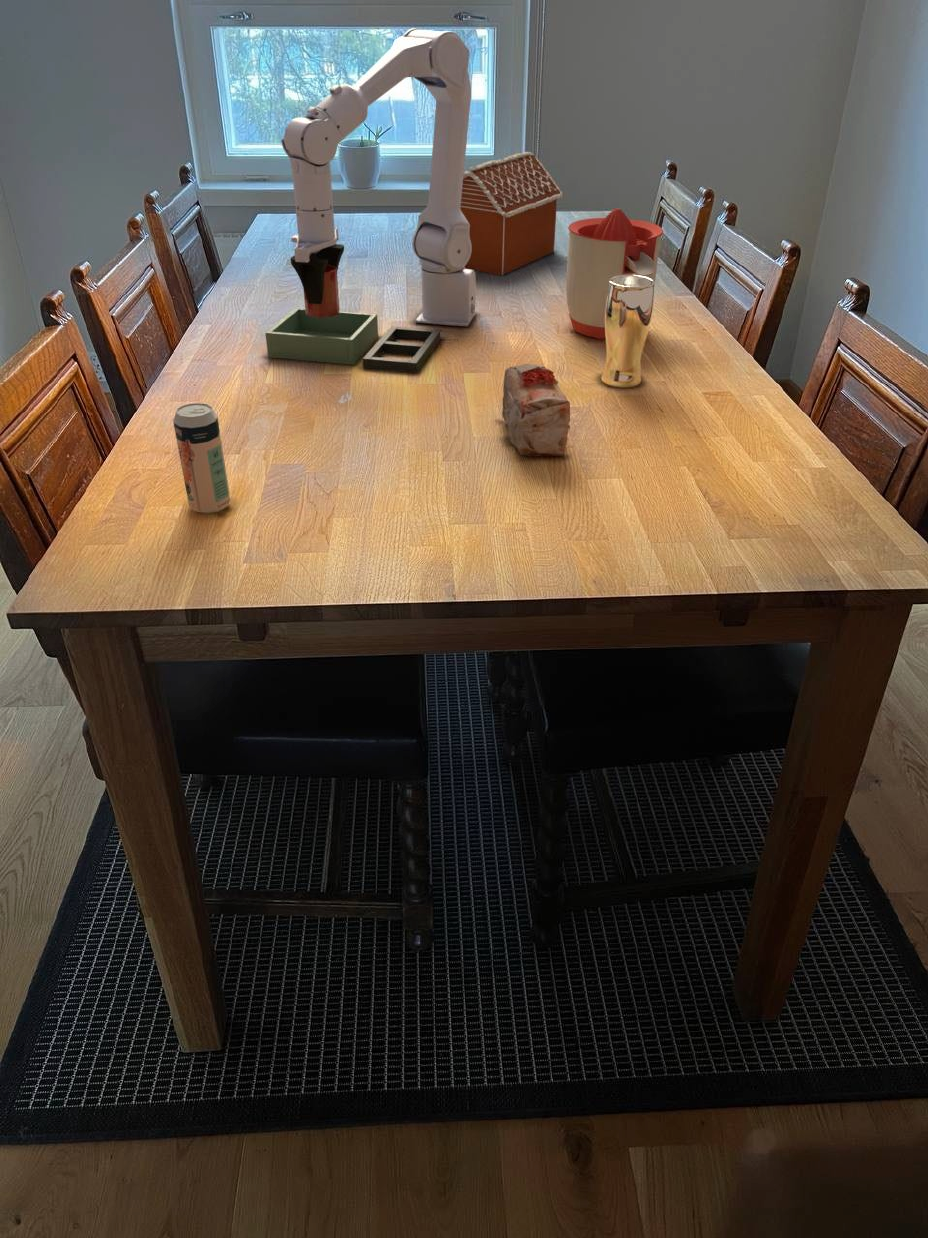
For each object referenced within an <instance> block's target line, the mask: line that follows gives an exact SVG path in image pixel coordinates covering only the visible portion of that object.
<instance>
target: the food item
mask: <svg viewBox="0 0 928 1238" xmlns="http://www.w3.org/2000/svg"><path fill="white" fill-rule="evenodd" d="M554 372H555V371H552V370H551V369H549V368H547V367H545V366H543V365H539V364H538V365H537V364H532V363H531V364H530V363H529V364H528V363H525V364H520V365H515V366H510V367H507V368H506V369H505V370H504V376H503V377H504V378H503V385H502V386H503V387H502V391H503V396H502V412H501V413H502V414H501V415H502V418H503V420H504V422H505V424H506V425H507V430H508V434H507V435H508V442H510V443H511V444H512V445H513V446H514V447H515V448H516V449H517V450H518V454H519V455H520V456H529V457H556V456H557V457H558V456H564V454H565V452H566V448H567V442H568V435H569V430H570V429H571V425H570V422H571V402H570V401H569V400H568V398H567V396H566V395H565V393H564V391H563V390H562V389H561V388H560V386H559V385H558V384H559V380H557V378H555V375H554Z"/></svg>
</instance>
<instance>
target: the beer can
mask: <svg viewBox="0 0 928 1238" xmlns="http://www.w3.org/2000/svg"><path fill="white" fill-rule="evenodd" d="M172 423H173V428H174V429H173V430H174V434H175V438H176V445H177V449H178V454H179V460H180V465H181V470H182V471H181V472H182V475H183V481H184V486H185V492H186V497H187V502H188V507H189V509H191V510H192V511H194V512H197V513H199V514H204V515H205V514H207V515H208V514H216V513H219V512H221V511H223V510H224V509H225V508H227V507H228V506H229V505H230V504H231V502H232V501H231V494H230V487H229V480H228V475H227V469H226V468H227V467H226V461H225V456H224V455H225V454H224V449H223V444H222V443H223V442H222V437H221V436H222V435H221V430H220V424H219V418H218V414H217V413H216V411H215V410H214V409H213V407H212V406H211V405H209V404H207V403H200V402H193V403H187V404H186V403H185V404H183V405H181V406H179V407H177V408H176V411H175V414H174V417H173V418H172Z"/></svg>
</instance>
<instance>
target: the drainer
mask: <svg viewBox="0 0 928 1238" xmlns="http://www.w3.org/2000/svg"><path fill="white" fill-rule="evenodd" d="M396 338H399V339H411V340H423V341H424V343H413V342H399V341H395V340H396ZM441 339H442V330H441V329H430V328H418V327H406V326H405V327H404V326H394V325H392V326H390V327H389V329H387V331H386V332H385V333H384V334H383V335H382V336H381V337H380V339H378V340H377V342H376V343H375V344H374V345H373V347H371V348H370V350H368V352H367V353H366V354H365V355H364V357H363V358H362V368H364V369H373V370H374V369H375V370H385V371H396V372H397V371H398V372H407V373H408V372H409V373H418V371H419V370H420V369H421V367H422V366H423V364H425V361H426V360H427V358H428V357H429V356H430V355H431V354H432V352H433V350H434V349H435V348H436V346H437V345H438V344H439V342H440V341H441ZM384 353H388V354H399V355H409V356H410V355H411V356H413V357H412V358H411V359H403V358H401V359H400V358H389V357H381V356H382V355H383V354H384Z"/></svg>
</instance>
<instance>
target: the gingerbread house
mask: <svg viewBox="0 0 928 1238" xmlns="http://www.w3.org/2000/svg"><path fill="white" fill-rule="evenodd" d="M563 196H564V194H563V191H561V189H560V187H559V186H558V185H557V184H556V181H554V179H553V177H552V176H551V174H549V171H547V170H546V168H545V166H544V165H543V163H542V162H541V161H540V160H539V158H537V157H536V156H535V155H534V153H533V152H531V151H524V152H519V153H517V152H516V153H514V154H511V155H509V156H507V157H504V158H501V159H497V160H496V159H493V160H491V159H490V160H489V161H486V162H483V163H480V164H477V165H475V166H470V167H469V169H467V170H466V171H464V175H463V186H462V196H461V207H460V210H461V212H462V213H463V215H464V216H465V218H466V219H467V221H468V223H469V225H470V229H469V236H470V241H471V245H472V251H471V256H470V259H469V261H468V262H467V264H466V265H465V269H470V270H474V271H478V272H484V273H488V274H494V275H499V276H504V275H505V274H508V273H509V272H510V273H511V272H512V271H514V270H516V269H518V268H521V267H523V266H526V265H528V264H530V263H531V262H532V263H533V262H534V261H536V260H539V259H541V258H543V257H545V256H548V255H550V254H552V253H554V252H555V241H556V225H557V207H558V200H559V199H560V200H563Z"/></svg>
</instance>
